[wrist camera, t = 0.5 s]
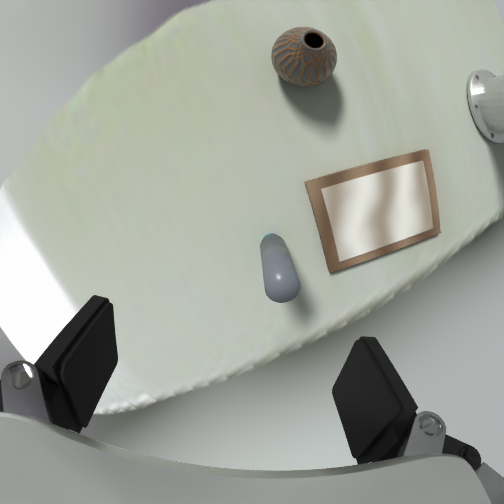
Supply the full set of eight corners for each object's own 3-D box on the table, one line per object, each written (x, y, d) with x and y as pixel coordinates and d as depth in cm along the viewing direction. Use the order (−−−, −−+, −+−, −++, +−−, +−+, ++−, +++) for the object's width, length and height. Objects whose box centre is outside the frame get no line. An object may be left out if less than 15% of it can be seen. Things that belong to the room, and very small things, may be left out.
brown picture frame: (424, 149, 30) (429, 149, 29) (436, 230, 34) (441, 233, 33) (304, 181, 32) (306, 183, 31) (328, 270, 36) (330, 273, 35)
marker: (279, 228, 34) (294, 266, 23) (286, 250, 35) (303, 296, 24) (256, 235, 34) (260, 277, 23) (264, 257, 35) (270, 306, 24)
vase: (300, 33, 26) (314, 1, 17) (337, 72, 27) (364, 51, 19) (257, 61, 27) (259, 33, 19) (296, 102, 29) (312, 85, 21)
